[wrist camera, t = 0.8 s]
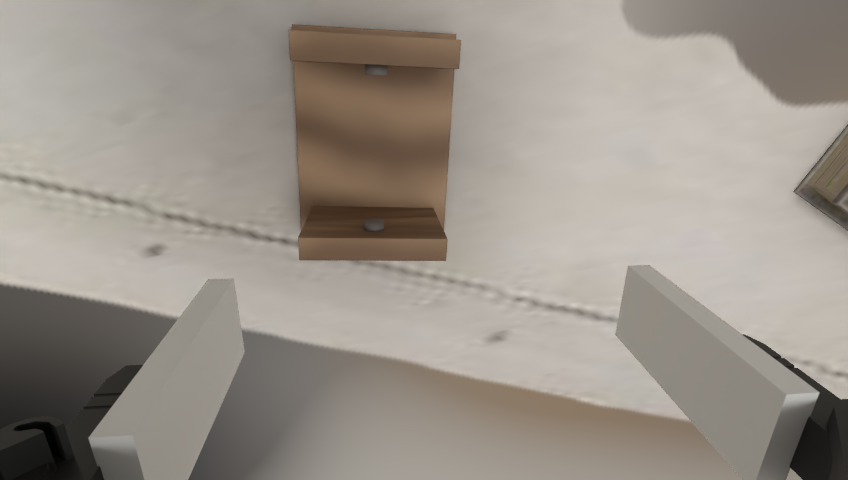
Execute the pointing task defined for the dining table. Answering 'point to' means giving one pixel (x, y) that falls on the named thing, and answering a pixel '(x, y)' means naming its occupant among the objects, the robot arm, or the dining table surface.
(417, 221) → the holder
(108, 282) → the dining table surface
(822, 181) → the book
